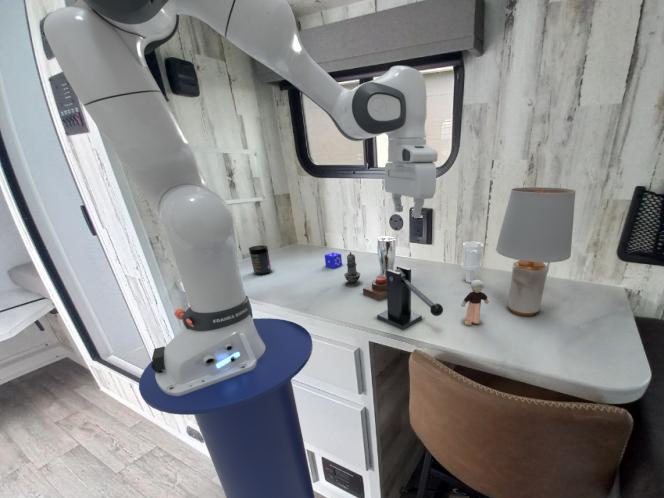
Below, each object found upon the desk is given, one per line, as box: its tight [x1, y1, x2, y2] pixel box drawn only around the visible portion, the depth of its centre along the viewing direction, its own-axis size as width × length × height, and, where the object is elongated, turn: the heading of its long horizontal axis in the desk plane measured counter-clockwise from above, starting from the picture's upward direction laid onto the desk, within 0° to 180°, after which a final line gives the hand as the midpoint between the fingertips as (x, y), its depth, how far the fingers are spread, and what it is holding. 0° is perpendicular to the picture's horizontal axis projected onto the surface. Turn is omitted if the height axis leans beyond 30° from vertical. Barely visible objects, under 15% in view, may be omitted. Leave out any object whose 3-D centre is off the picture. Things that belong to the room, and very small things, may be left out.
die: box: [324, 252, 343, 269], centre depth 130 cm, size 5×5×5 cm
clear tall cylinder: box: [460, 241, 484, 283], centre depth 110 cm, size 7×7×15 cm
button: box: [375, 275, 387, 284], centre depth 103 cm, size 4×4×2 cm
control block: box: [362, 278, 387, 301], centre depth 104 cm, size 10×8×4 cm
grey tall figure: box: [343, 251, 361, 287], centre depth 110 cm, size 6×6×12 cm
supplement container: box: [248, 244, 273, 276], centre depth 122 cm, size 7×7×10 cm
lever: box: [394, 268, 444, 317], centre depth 79 cm, size 17×3×3 cm, turn 48°
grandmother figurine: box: [460, 279, 489, 326], centre depth 82 cm, size 8×4×13 cm, turn 114°
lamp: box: [495, 186, 577, 317], centre depth 84 cm, size 19×19×34 cm
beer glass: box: [376, 236, 397, 277], centre depth 115 cm, size 7×7×15 cm
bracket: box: [376, 265, 423, 331], centre depth 84 cm, size 10×8×15 cm
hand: (407, 214), depth 77 cm, fingers open, 8 cm apart
